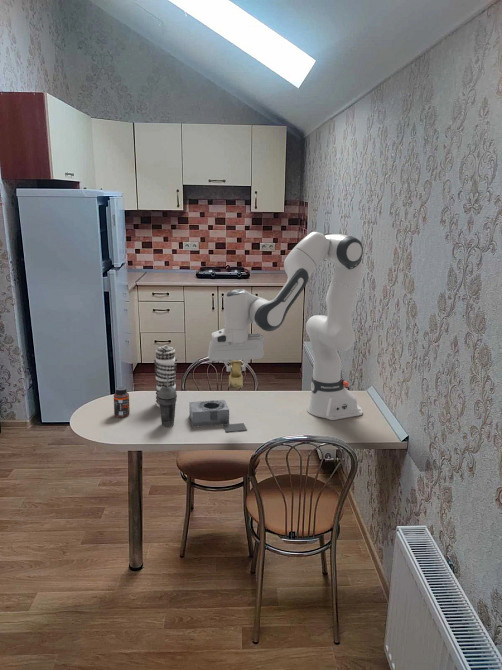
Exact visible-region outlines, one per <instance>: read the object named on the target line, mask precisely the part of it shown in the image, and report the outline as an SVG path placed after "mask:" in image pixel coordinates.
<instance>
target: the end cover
mask: <svg viewBox="0 0 502 670" xmlns="http://www.w3.org/2000/svg"><path fill="white" fill-rule="evenodd" d="M241 365H242V360H230V366H231V372H230V374H229V375H228V387H229V388H231V389H241V388H243V379H244V377H243V374H242V371H241Z"/></svg>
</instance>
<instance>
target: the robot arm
mask: <svg viewBox="0 0 502 670" xmlns="http://www.w3.org/2000/svg"><path fill="white" fill-rule="evenodd" d="M363 255H364V246H363V243H362V242H361V240H360V239H358V238H356V237H354V236H352V235H351V236H349V235H346V234H341V233H336V234H335V233H325V234H323V233H322V232H318V231H312V232H310V233H309V234H308V235H306V236H305V237H303V238H302V239H301V240H300V241H299V242H298V243H297V244H296V245H295V246H294V247H293V248H292V249H291V251H290V252H289V253H288V254H287V256H286V257H285V260H284V261H283V268H284V271H285V272H284V273H285V275H287V280H286V282H285V283H284V285H283V286H282V288H281V289H280V290H279V292H278V293H277V295H276V296H275V297H274V298H273V299H271V300H268V299H266V298H263V297H262V296H257V295H255V294H252V293H250V292H249V291H247V289H243V288H239V289H238V288H237V289H233V290H230V291H229V292H227V293H226V294H225V297H224V307H223V317H224V324H223V328H221V329H219V330H216V331H213V332H211V335H210V336H211V340H210V341H209V343H208V350H207V357H208V359H209V361H211V362H223V364H224V365H225V367H226V369H225V370H226V372H228V373H229V372H231V365H228V364H229V361H232V360H240V361H243V362H244V363H243V364H241V372H245V371H246V370H247V369H246V367H247V366H248V364H249V361H250V360H261V359H262V358H263V357H264V354H265V353H264V351H265V350H264V343H265V337H264V335H263V334H261V333H249V326H250V324H254V325H256V326H258V327H259V328H260V329H261V330H263V331H265V332H273V331H276V330H278V329H279V328H280V327H281V326H282V324H283V323H284V321H285V319H286V316H287V314H288V311H290V309H291V307H293V304H294V303H295V302H296V300H297V299H298V297H299V296H300V294H301V293H302V291H303V290H304V289H305V287H306V285H307V284H308V282H309V278H310V276H311V275H312V274H313V273H314V271H315V270H316V268H318V266H320V263H322V261H325V262H329V263H330V264H331V263H332V264H334V272H333V275H332V278H331V281H330V284H329V287H328V290H327V294H326V297H325V303H326V306H327V307H326V308H327V315H323V314H322V315H321V314H315V315H313V316H311V317H309V319H308V320H307V322H306V324H305V331H306V333H307V335H308V337H309V341H310V342H309V343H310V346H311V351H312V358H313V367H312V368H313V369H312V370H313V371H312V377H311V383H310V389H311V390H310V391H311V394H310V398H309V403H308V405H307V407H306V411H307V412H308V413H309V414H310V415H312V416H314V417H317V418H318V417H319V418H324V419H327V420H329V421H335V420H336V421H337V420H342V419H347V418H348V419H349V418H353V417H358V416H362V415H363V409H362V407H361V406H360V405H358V401H357V398H356V396H355V395H354V394H353V393H352V392H351V391H350V390H349V389H347V388H348V387H349V385H350V383H349V382H348V381H347V380H344V379H343V378H342V376H341V375H342V374H341V373H342V358H341V357H340V355H339V352H346V351H348V350H350V349H352V347H353V346H354V344H355V342H356V333H355V331H354V328H353V308H354V305H355V303H356V299H357V295H358V292H359V289H360V285H361V281H362V277H363V276H362V275H363V270H364V266H363V263H362V260H363Z"/></svg>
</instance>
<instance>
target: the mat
mask: <svg viewBox="0 0 502 670" xmlns="http://www.w3.org/2000/svg"><path fill="white" fill-rule="evenodd" d="M222 426H224V427H223V429H224V430H225V433H234V432H233V431H238V432H247V431H248V429H247V427H246V424H244V422H242V423H241V422H240V423H229V424H223V425H222ZM246 430H247V431H246Z"/></svg>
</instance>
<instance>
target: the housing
mask: <svg viewBox="0 0 502 670" xmlns="http://www.w3.org/2000/svg"><path fill="white" fill-rule="evenodd" d="M188 405H189V410H188V411H189V419H190V422H191V426H192V428H195V427H196V428H197V427H207V426H208V427H209V426H221V425H222V424H223V425H226V424H230V408H229V406H228V404H227V402H226V400H225V399H215V400H203V401H189V404H188ZM223 425H222V426H223Z"/></svg>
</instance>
